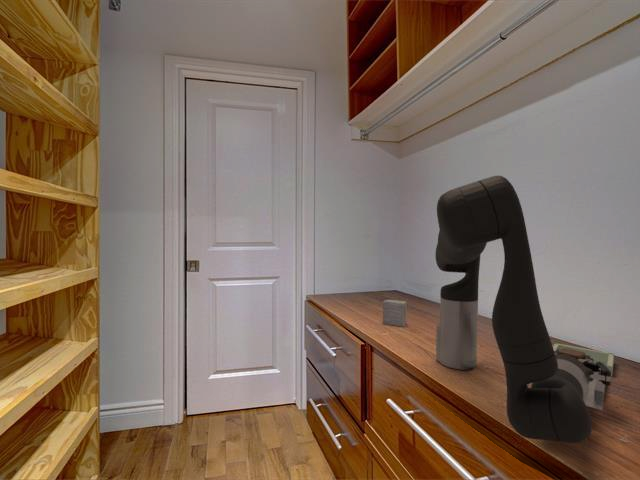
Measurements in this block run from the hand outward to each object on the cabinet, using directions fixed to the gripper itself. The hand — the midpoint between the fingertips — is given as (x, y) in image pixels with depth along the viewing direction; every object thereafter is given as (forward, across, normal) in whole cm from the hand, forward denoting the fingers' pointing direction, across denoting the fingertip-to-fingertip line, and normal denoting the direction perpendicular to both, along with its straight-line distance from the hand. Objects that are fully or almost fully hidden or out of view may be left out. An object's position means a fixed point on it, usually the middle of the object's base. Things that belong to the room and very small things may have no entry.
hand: (572, 357), depth 78 cm
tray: (+21, 0, +7) cm, 22 cm away
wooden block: (-3, 0, +6) cm, 7 cm away
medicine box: (+23, +56, +8) cm, 62 cm away
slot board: (+10, 0, +7) cm, 12 cm away
